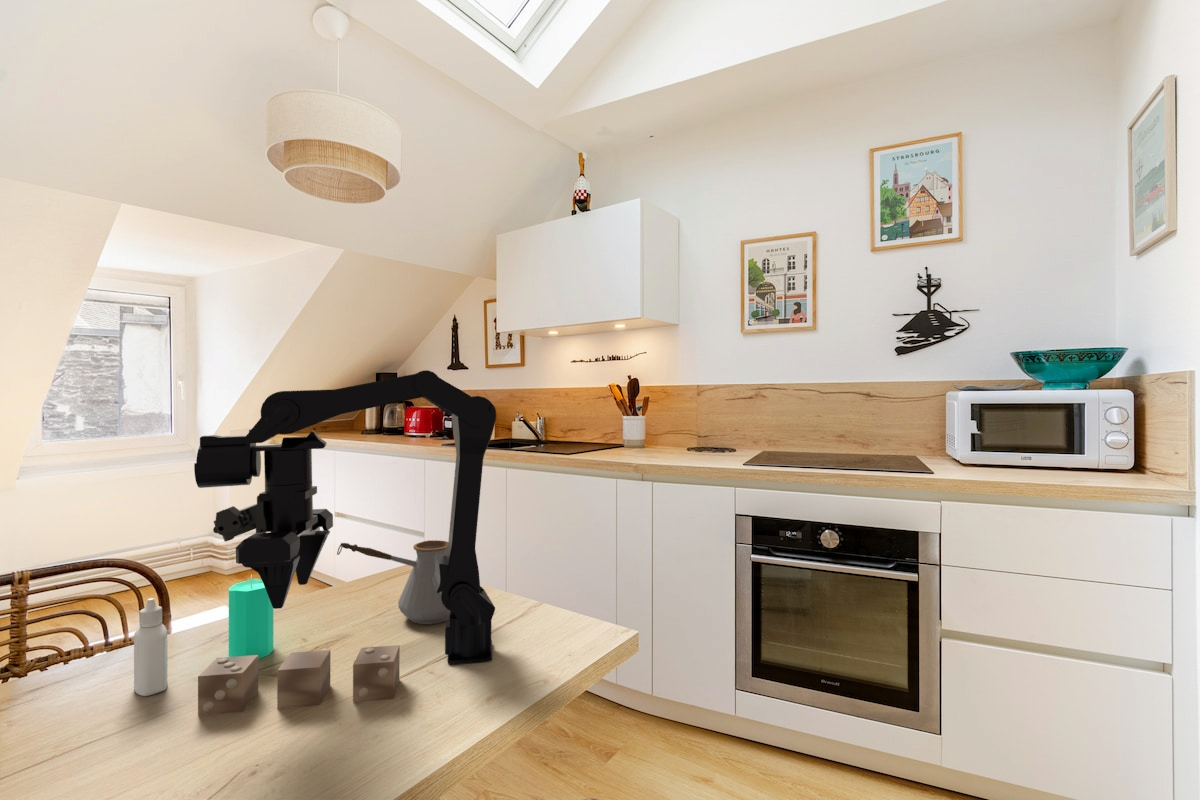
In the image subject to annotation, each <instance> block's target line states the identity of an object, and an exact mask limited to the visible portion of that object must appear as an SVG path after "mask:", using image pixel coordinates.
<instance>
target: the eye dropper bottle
mask: <svg viewBox="0 0 1200 800" xmlns="http://www.w3.org/2000/svg"><path fill="white" fill-rule="evenodd" d="M145 605H146V606H145V607H144V608H142V609H140V610H139V612H138V613H139V614H138V615H139V617H138V623H139V627H138V628H137V629H136V630H135V632H134V635H133V688H134V692H135V693H136V694H137V695H138V696H139V695H140V696H142V697H149V696H152V695H156V694H160V693H162V692H164V691H166V689H167V687H168V681H169V680H168V676H169V675H168V673H169V672H168V662H169V661H168V658H169V657H168V654H169V653H168V630H167V627H166V625H164V623H163V607H162V606H160V605H156V600H155V598H154V597H153V598H152V597H150V598H148V599H147V601H146V604H145Z"/></svg>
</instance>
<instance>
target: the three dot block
mask: <svg viewBox="0 0 1200 800" xmlns="http://www.w3.org/2000/svg"><path fill="white" fill-rule="evenodd" d="M258 692H259V659H258V655H251V656H237V657H229V656H226V657H216V659H214V660H212V662H211V663H210V664H209V665H208V666H207V667H206V668H205V669H204V670H203V671H202V672H201V673H200V674H199V675H198V676H197V717H200V716H201V717H202V716H213V715H214V716H215V715H223V714H237V713H243V712H244V711H245V709H246V708H247V707H248V706H249V704H251V702H252V701H253V699H254V698H255V697H256V695H257V694H258Z"/></svg>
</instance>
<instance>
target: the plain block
mask: <svg viewBox="0 0 1200 800" xmlns="http://www.w3.org/2000/svg"><path fill="white" fill-rule="evenodd" d="M276 673H277V674H276V675H277V678H276V679H277V682H276V683H277V687H276V691H277V697H276V699H277V703H276V704H277V706H276V707H277V710H280V709H291V708H292V709H294V708H304V707H316V706H321V704H322V702H323V700H324V698H325V697H326V695H327V693H328V691H329V689H330V687H331V649H327V650H326V649H325V650H323V649H322V650H313V651H312V650H311V651H309V650H308V651H299V652H298V651H297V652H295V651H294V652H290V653H289V654H288V655H287V657H286V659H284V661H282V664H281V665H280V666H279V668H278V669H277V672H276Z"/></svg>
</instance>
